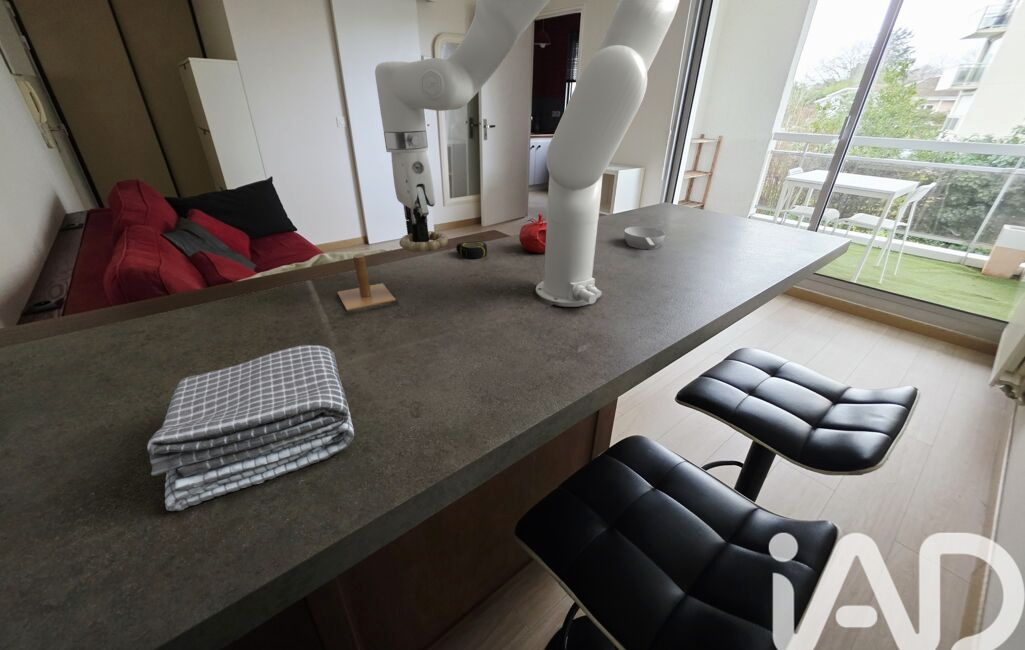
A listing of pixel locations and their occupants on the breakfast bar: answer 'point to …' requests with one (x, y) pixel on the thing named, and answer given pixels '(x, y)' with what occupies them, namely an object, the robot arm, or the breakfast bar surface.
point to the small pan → (644, 237)
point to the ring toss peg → (364, 289)
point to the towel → (250, 424)
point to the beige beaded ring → (437, 243)
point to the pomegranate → (534, 235)
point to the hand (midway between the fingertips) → (418, 240)
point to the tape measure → (472, 250)
